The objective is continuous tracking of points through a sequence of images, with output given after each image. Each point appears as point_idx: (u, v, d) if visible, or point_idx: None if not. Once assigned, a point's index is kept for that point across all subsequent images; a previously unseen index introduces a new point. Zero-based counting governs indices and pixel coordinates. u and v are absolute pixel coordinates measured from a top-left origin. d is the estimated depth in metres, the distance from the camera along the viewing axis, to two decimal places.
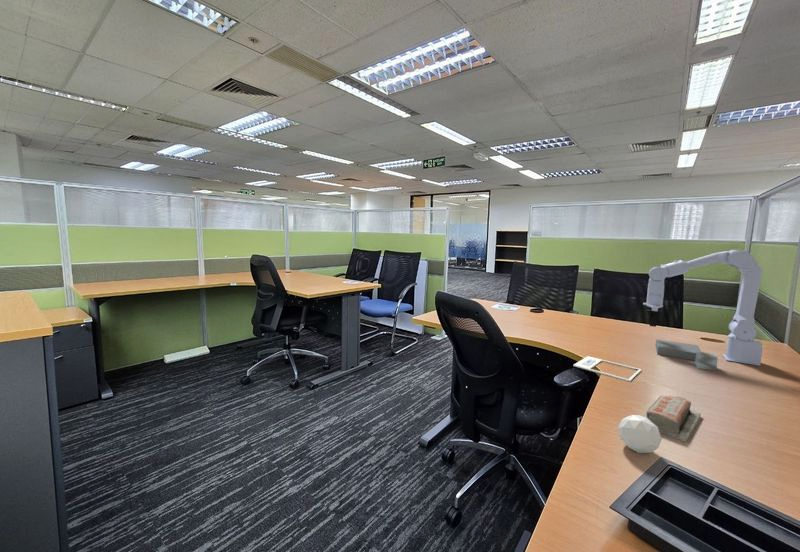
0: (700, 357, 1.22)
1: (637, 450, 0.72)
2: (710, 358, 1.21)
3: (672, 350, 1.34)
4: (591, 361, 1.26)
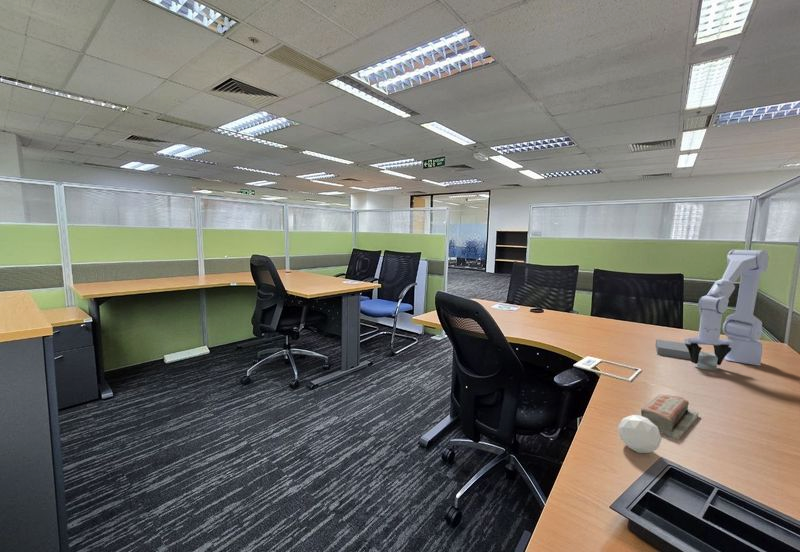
0: (700, 357, 1.22)
1: (637, 450, 0.72)
2: (710, 358, 1.21)
3: (672, 350, 1.34)
4: (591, 361, 1.26)
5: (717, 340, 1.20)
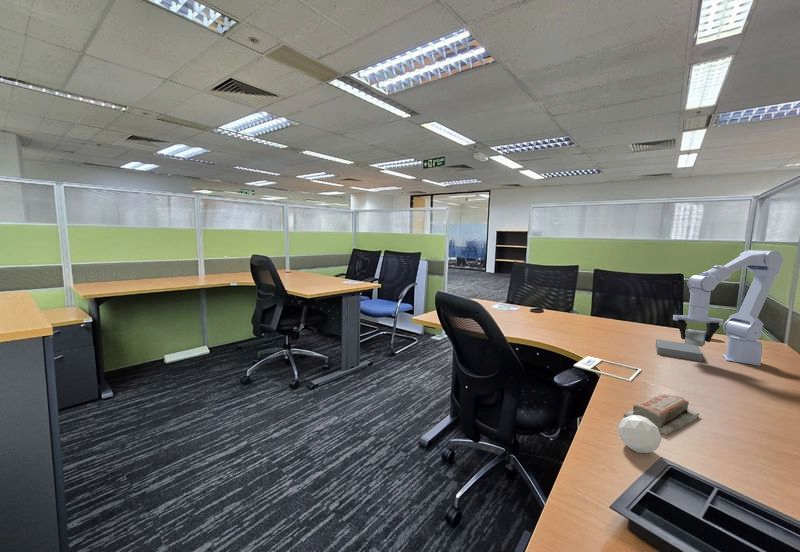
0: (687, 333, 1.29)
1: (637, 450, 0.72)
2: (696, 334, 1.27)
3: (672, 350, 1.34)
4: (591, 361, 1.26)
5: (703, 317, 1.25)
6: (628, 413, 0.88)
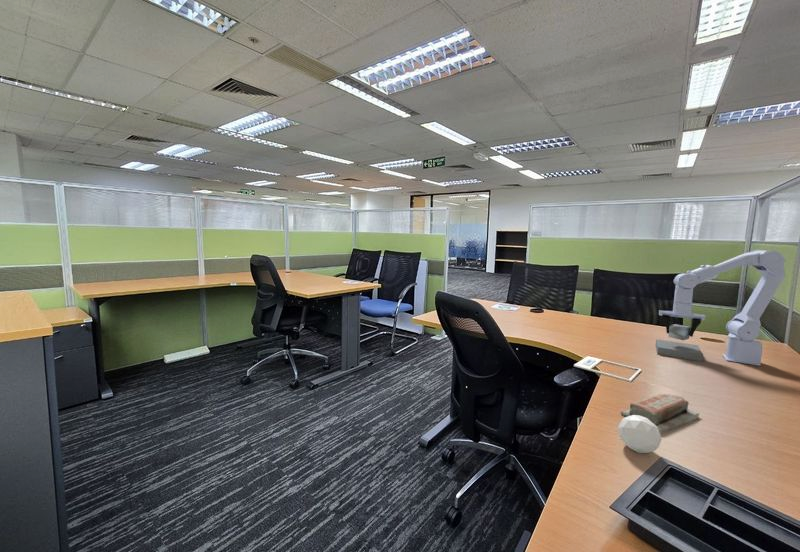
0: (671, 327, 1.38)
1: (637, 450, 0.72)
2: (679, 328, 1.36)
3: (672, 350, 1.34)
4: (591, 361, 1.26)
5: (685, 313, 1.34)
6: (625, 411, 0.89)
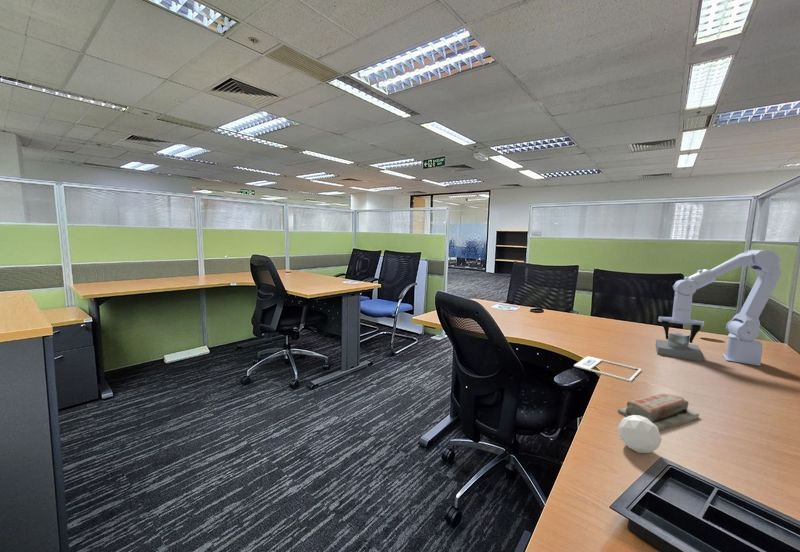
0: (670, 336, 1.39)
1: (637, 450, 0.72)
2: (678, 337, 1.36)
3: (672, 350, 1.34)
4: (591, 361, 1.26)
5: (685, 319, 1.35)
6: (623, 409, 0.90)
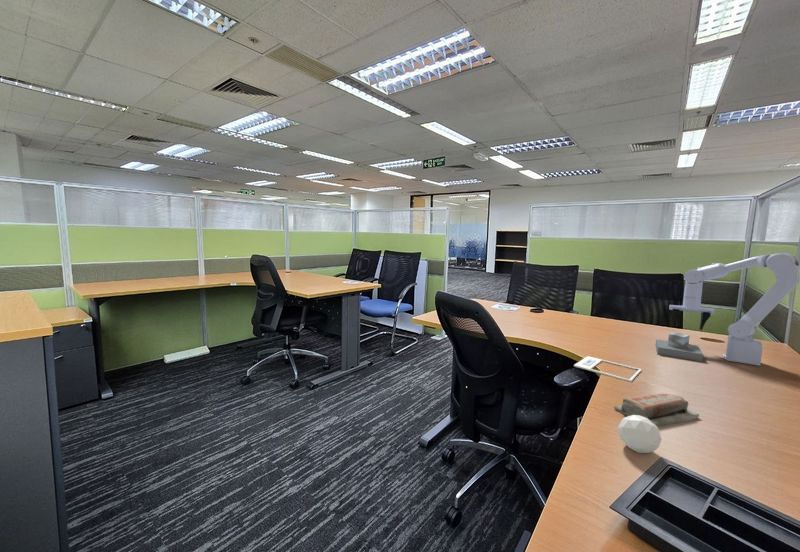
0: (670, 336, 1.39)
1: (637, 450, 0.72)
2: (678, 337, 1.36)
3: (672, 350, 1.34)
4: (591, 361, 1.26)
5: (695, 307, 1.40)
6: (619, 406, 0.92)
